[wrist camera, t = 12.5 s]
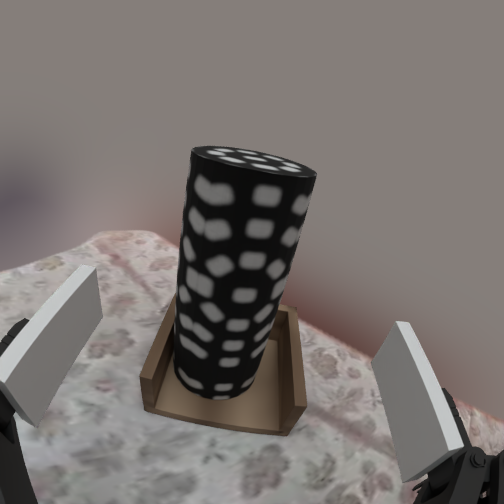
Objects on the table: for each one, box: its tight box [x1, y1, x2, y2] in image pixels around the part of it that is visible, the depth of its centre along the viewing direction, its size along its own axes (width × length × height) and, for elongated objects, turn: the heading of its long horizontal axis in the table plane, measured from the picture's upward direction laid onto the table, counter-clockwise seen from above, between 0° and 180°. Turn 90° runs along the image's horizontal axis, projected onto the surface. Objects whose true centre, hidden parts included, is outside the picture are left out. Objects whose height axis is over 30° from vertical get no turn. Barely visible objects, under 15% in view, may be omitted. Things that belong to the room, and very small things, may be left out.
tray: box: [139, 293, 307, 436], centre depth 26 cm, size 13×13×6 cm
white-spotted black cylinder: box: [173, 146, 317, 400], centre depth 23 cm, size 8×8×20 cm
